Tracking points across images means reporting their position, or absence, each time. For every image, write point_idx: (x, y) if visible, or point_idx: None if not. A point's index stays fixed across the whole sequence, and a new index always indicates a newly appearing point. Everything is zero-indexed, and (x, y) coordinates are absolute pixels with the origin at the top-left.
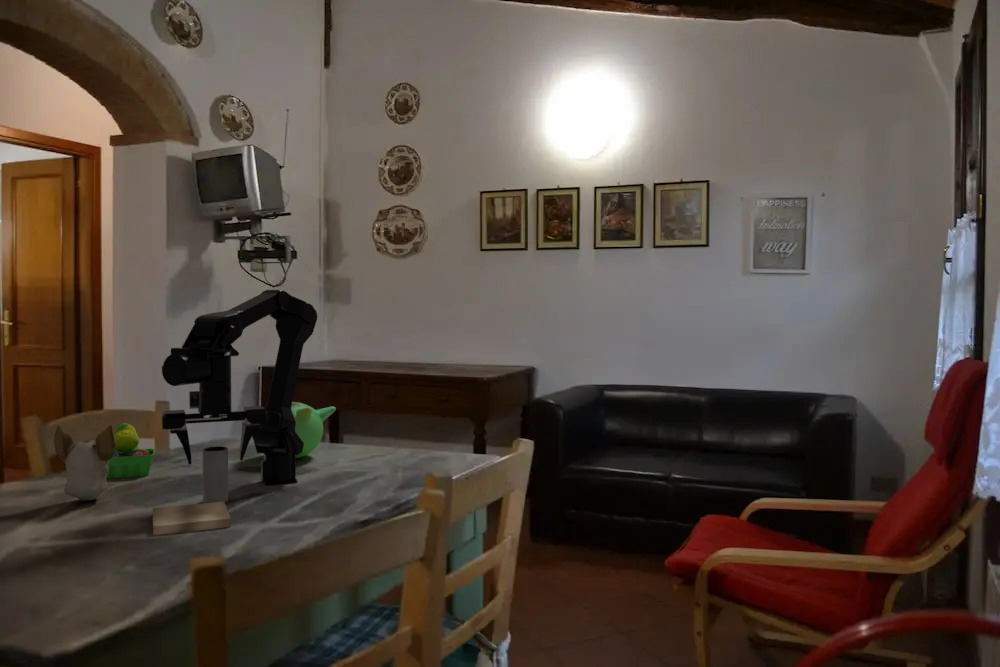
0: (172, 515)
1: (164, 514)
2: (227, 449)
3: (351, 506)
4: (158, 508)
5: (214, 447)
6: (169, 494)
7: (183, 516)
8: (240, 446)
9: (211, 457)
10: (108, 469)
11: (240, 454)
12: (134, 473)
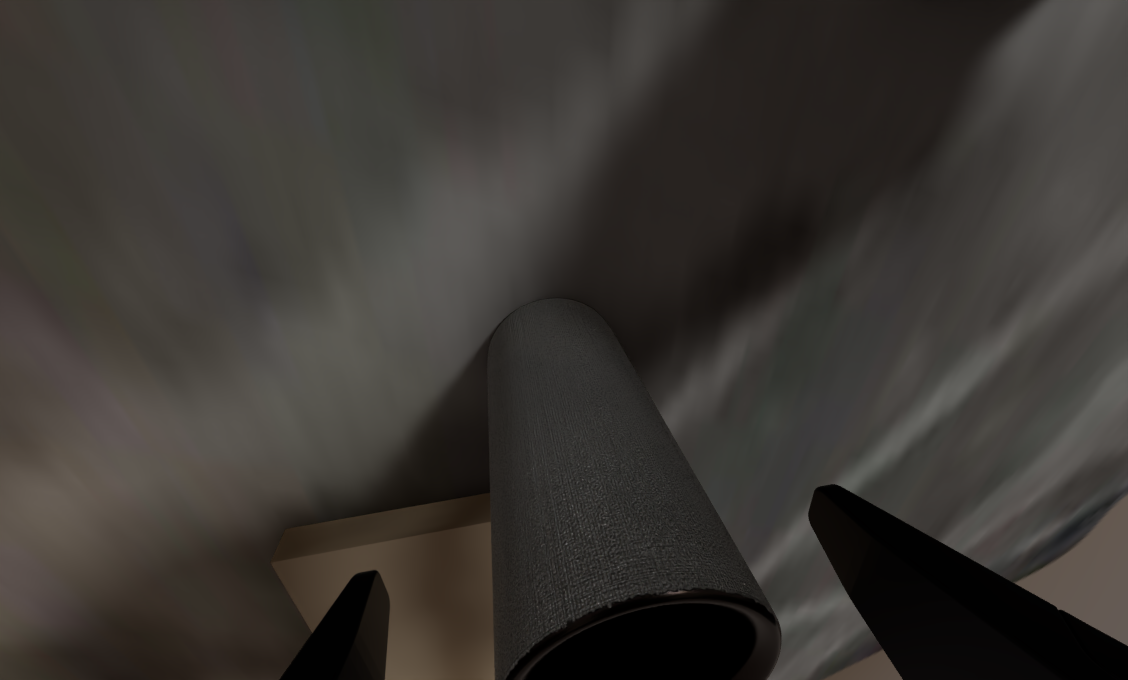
0: (400, 643)
1: None
2: (760, 675)
3: (985, 506)
4: (303, 568)
5: (643, 606)
6: (184, 51)
7: (445, 652)
8: (926, 607)
9: (581, 678)
10: None
11: (842, 578)
12: None
